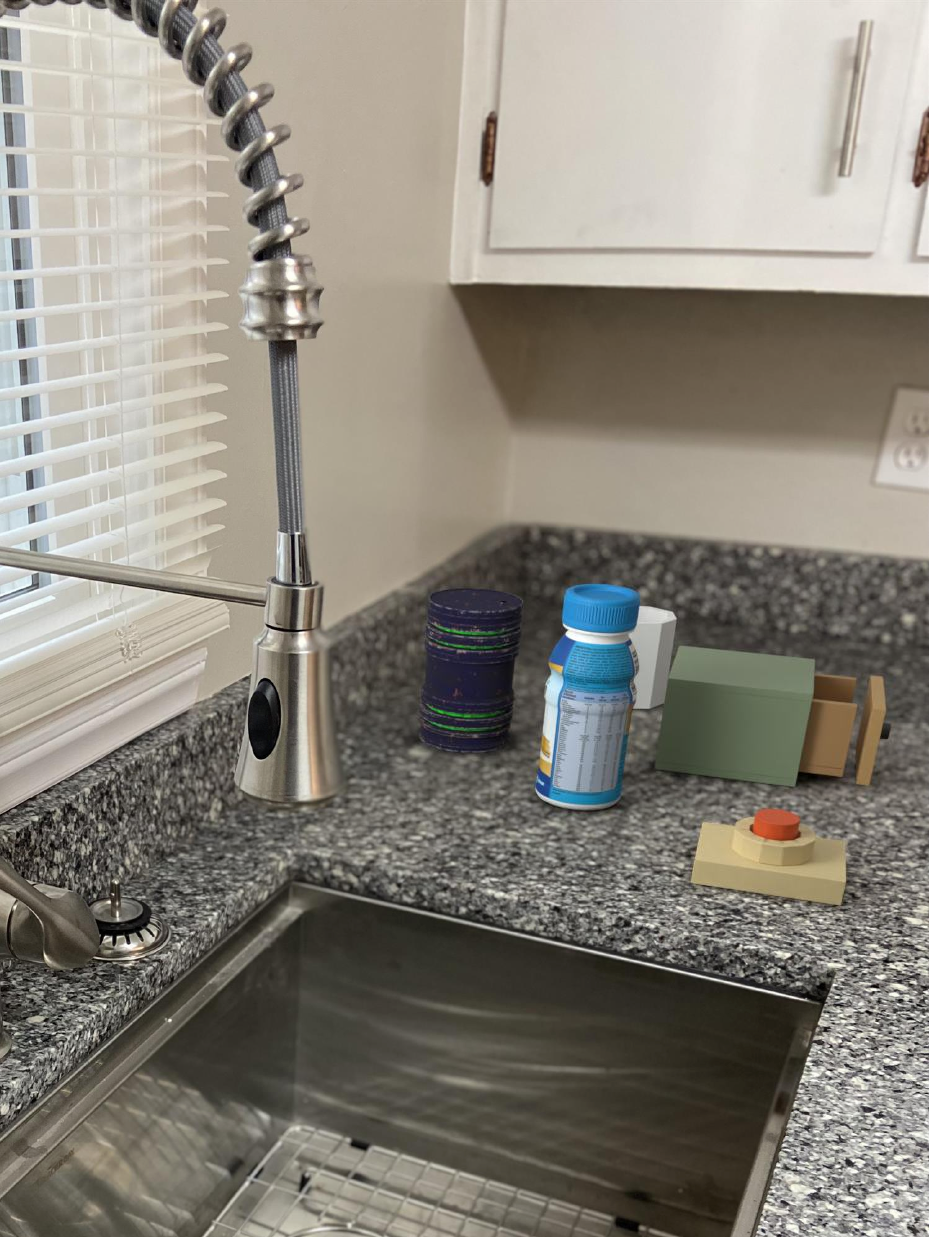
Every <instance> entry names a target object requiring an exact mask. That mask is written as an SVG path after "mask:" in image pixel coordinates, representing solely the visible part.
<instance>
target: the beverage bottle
mask: <svg viewBox="0 0 929 1237" xmlns="http://www.w3.org/2000/svg"><path fill="white" fill-rule="evenodd" d="M563 598H564V599H563V606H562V616H561V622H562V626H563V627H564V628H565V629H566V632H565V633H563V635H562V636H561V638H560V639H559V640H558V642H557V643H556V644H555V646H554V647H553V650H552V652H551V654H550V657H549V660H548V666H549V669H550V672H551V673H550V675H549V677H548V679H547V680H546V682H545V685H544V689H543V690H544V691H543V697H544V701H545V705H544V715H543V724H542V727H543V728H542V735H541V744H540V751H539V752H540V753H539V762H538V768H537V774H536V777H535V787H534V789H535V792H536V794H537V796H538V797H539V798H540V800H543V801H544V802H546V803H547V804H550V805H551V806H555V807H558V808H562V809H566V810H572V811H599V810H604V809H608V808H610V807H612V806H615V805H616V804H617V803H619V801H620V799H621V798H622V791H623V778H624V777H623V776H624V768H625V763H626V762H625V761H626V755H627V750H628V748H627V747H628V741H629V734H630V728H631V722H632V715H633V710H634V709H633V707H634V705H635V703H636V697H637V690H636V687H635V684H634V678H635V676H636V675H637V673H638V671H639V661H638V656H637V652H636V650H635V647H634V645H633V643H632V641H631V639H630V637H629V636H628V634H630V633H632V632H633V631H634V630H635V627H636V625H637V620H638V614H639V606H641V596H640V594H639V593H638V591H636V590H634V589H632V588H629V587H625V586H621V585H615V584H606V583H584V584H578V585H573V586H570V587H569V588H567V589H566V591H565V594H564V597H563Z"/></svg>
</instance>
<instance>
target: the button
mask: <svg viewBox="0 0 929 1237" xmlns="http://www.w3.org/2000/svg"><path fill="white" fill-rule="evenodd" d="M754 817H755V820H754V825H753V830H752V833H754V834H755V835H757V836H760V837H763V838H766V839H770V840H777V841H790V840H795V839H797V834H798V829H799V824H801V818H800V816H798V815H797V814H795V813H793V812H791V811H788V810H784V809H777V808H764V809H763V808H762V809H759V810H757V811H756V812H755V814H754Z"/></svg>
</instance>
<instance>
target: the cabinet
mask: <svg viewBox="0 0 929 1237" xmlns="http://www.w3.org/2000/svg"><path fill="white" fill-rule="evenodd" d="M815 672H816V659H815V658H806V657H797V656H796V657H795V656H788V655H787V656H786V655H777V654H767V653H766V654H765V653H756V652H747V651H737V650H728V649H727V650H726V649H717V648H708V647H698V646H689V645H679V646H678V648H677V651H676V655H675V657H674V660H673V663H672V665H671V668H670V670H669V674H668V681H667V688H666V694H665V701H664V703H663V708H662V709H663V710H662V713H661V714H662V716H661V723H660V728H659V734H658V741H657V748H656V755H655V762H654V768H653V769H654V770H657V771H664V772H665V771H666V772H674V773H681V774H688V775H689V774H690V775H697V776H705V777H711V778H712V777H714V778H719V779H729V780H736V781H745V782H751V783H760V784H766V785H767V784H768V785H775V786H783V787H791V788H795V787H796V786H797V780H798V775H799V772H798V770H799V765H800V760H801V755H802V750H803V745H804V740H805V735H806V730H807V725H808V720H809V715H810V709H811V704H812V699H813V694H814V673H815Z"/></svg>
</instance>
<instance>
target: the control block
mask: <svg viewBox="0 0 929 1237" xmlns="http://www.w3.org/2000/svg"><path fill="white" fill-rule="evenodd" d="M754 820H755V816H747V817H745V818H742V819H739V820H738V821H735V824H734V825H730V824H724V823H723V824H722V823H716V822H715V823H714V822H708V821H702V824H701V828H700V832H699V833H700V834H699V837H698V842H697V847H696V852H695V855H694V861H693V867H692V872H691V879H690V884H694V885H700V886H708V887H715V888H720V889H721V888H722V889H728V890H734V891H741V892H747V893H754V894H761V895H767V896H774V897H781V898H788V899H792V900H793V899H794V900H801V901H808V902H815V903H820V904H828V905H832V906H833V905H834V906H842V904H843V899H844V895H845V890H846V885H847V842H846V840H838V839H832V838H825V837H816V835H817V834H816V832H815V831H814V830H812V829H811V828H810V827H809V826H808V825H806V824H803V823H800V824H799V829H798V834H797V839H795V840H790V841H777V840H770V839H766V838H763V837H760V836H757V835H755V834H754V833H752V830H753V825H754Z"/></svg>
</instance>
